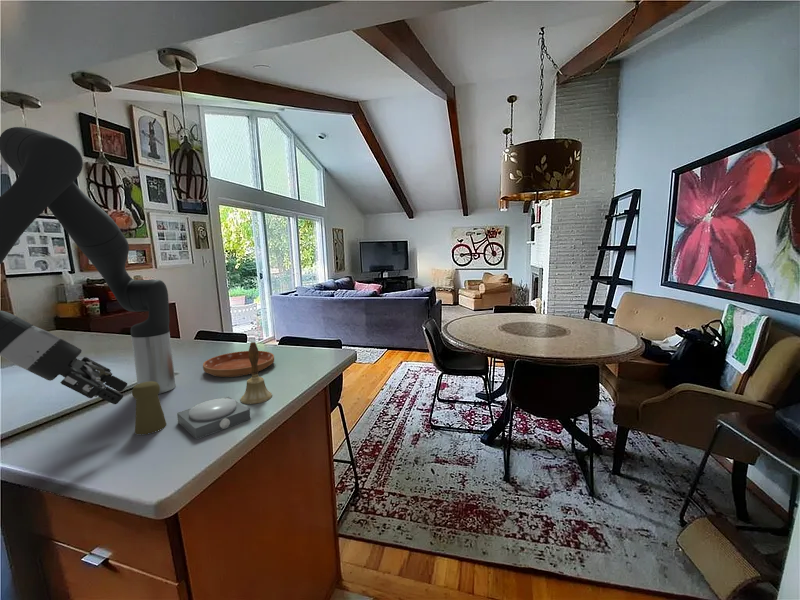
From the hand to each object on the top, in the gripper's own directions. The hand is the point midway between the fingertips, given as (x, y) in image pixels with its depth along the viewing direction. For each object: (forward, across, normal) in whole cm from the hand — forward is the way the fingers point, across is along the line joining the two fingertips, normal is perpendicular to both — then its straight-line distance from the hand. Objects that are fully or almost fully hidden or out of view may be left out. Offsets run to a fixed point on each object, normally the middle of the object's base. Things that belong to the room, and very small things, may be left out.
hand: (122, 393), depth 77 cm
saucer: (+28, +35, -14) cm, 46 cm away
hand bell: (+27, +3, -13) cm, 30 cm away
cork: (+10, 0, +4) cm, 11 cm away
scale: (+19, -5, -5) cm, 20 cm away
